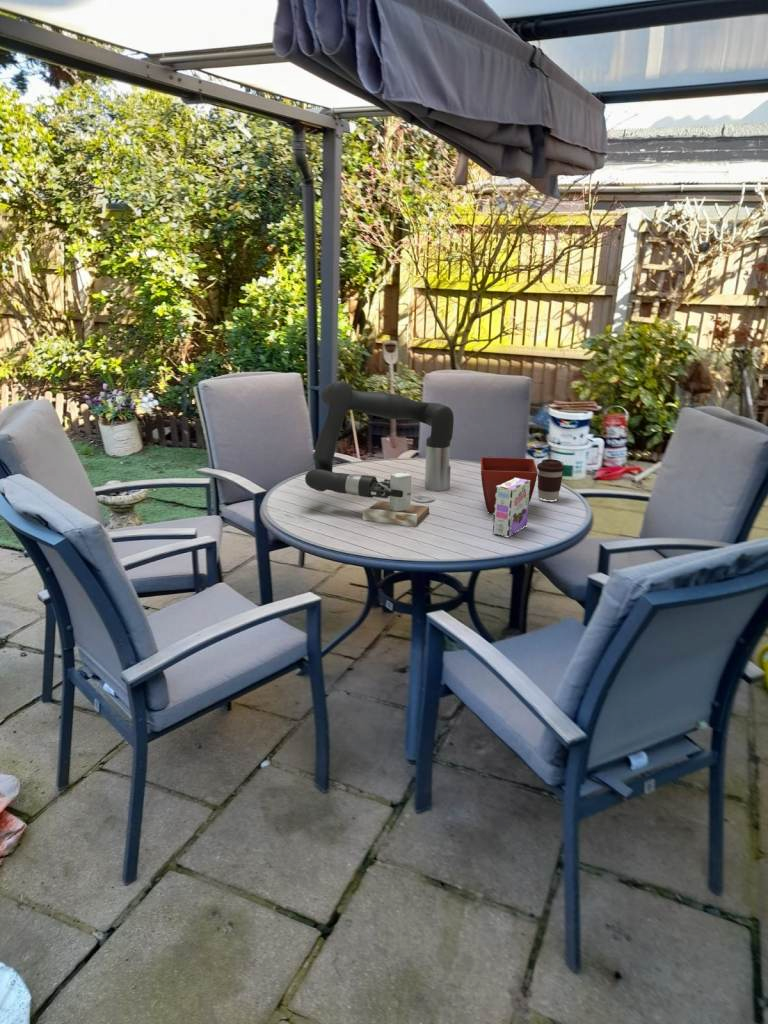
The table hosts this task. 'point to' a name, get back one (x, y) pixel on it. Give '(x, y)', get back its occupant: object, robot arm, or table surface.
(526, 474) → the plant pot
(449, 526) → the table surface
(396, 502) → the skincare box
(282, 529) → the table surface
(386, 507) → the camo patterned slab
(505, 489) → the candy box
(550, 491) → the coffee cup
